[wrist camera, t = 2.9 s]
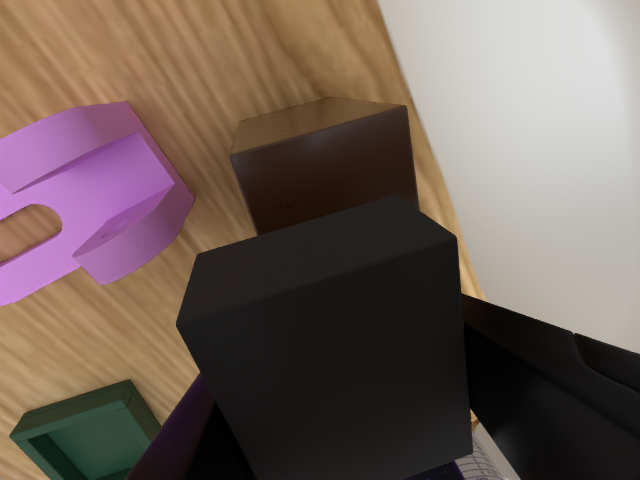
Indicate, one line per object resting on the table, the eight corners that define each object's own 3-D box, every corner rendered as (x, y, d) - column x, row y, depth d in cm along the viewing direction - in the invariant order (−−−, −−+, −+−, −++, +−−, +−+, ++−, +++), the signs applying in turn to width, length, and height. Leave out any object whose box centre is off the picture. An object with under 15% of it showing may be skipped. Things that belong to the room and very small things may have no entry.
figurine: (465, 454, 29) (456, 509, 36) (536, 495, 26) (512, 547, 33) (485, 404, 33) (473, 463, 39) (550, 435, 30) (526, 494, 36)
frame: (178, 452, 26) (174, 474, 25) (87, 483, 26) (77, 507, 24) (129, 379, 23) (121, 399, 22) (24, 412, 23) (7, 436, 21)
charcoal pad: (423, 372, 10) (475, 454, 8) (271, 424, 10) (279, 525, 7) (396, 193, 8) (458, 235, 5) (196, 253, 7) (173, 324, 5)
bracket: (127, 101, 17) (54, 109, 11) (195, 198, 19) (169, 252, 13) (-103, 228, 17) (-305, 309, 11) (-8, 308, 20) (-129, 413, 13)
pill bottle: (361, 357, 26) (441, 548, 15) (432, 345, 27) (556, 518, 16) (362, 411, 28) (431, 611, 18) (427, 398, 29) (531, 581, 18)
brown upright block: (352, 201, 21) (430, 286, 12) (272, 224, 21) (290, 331, 12) (330, 96, 18) (408, 104, 9) (238, 121, 18) (228, 155, 9)
